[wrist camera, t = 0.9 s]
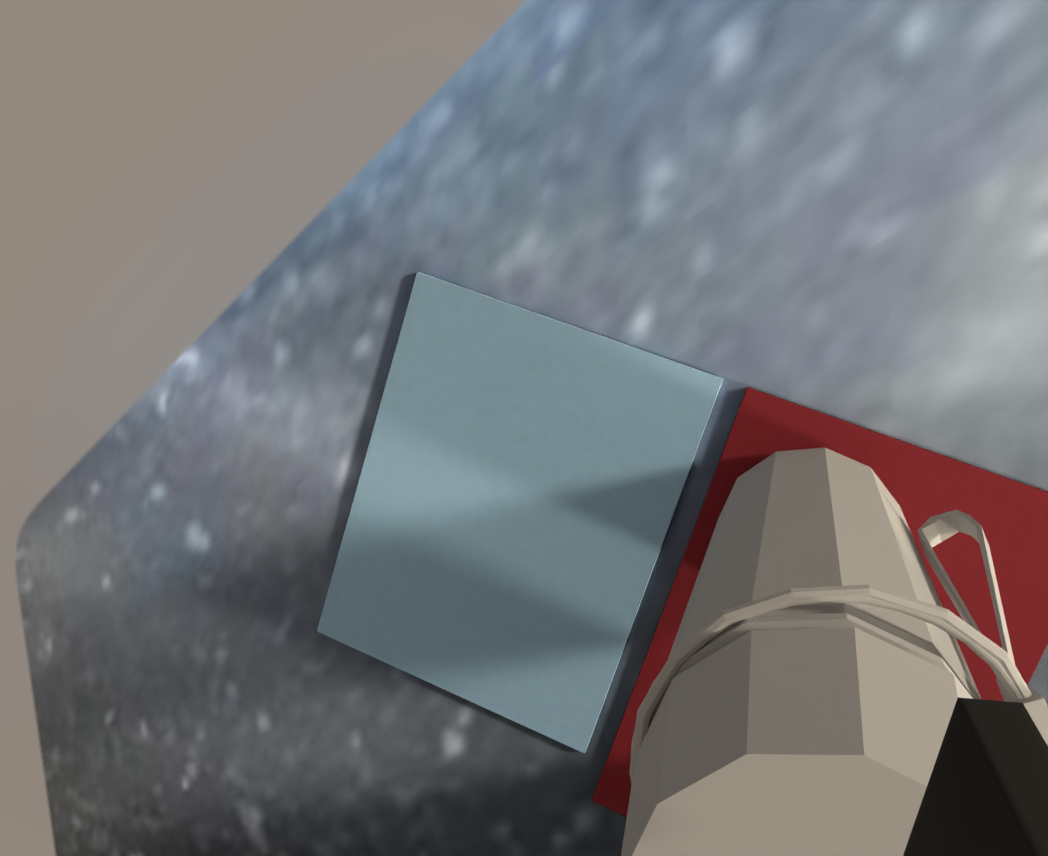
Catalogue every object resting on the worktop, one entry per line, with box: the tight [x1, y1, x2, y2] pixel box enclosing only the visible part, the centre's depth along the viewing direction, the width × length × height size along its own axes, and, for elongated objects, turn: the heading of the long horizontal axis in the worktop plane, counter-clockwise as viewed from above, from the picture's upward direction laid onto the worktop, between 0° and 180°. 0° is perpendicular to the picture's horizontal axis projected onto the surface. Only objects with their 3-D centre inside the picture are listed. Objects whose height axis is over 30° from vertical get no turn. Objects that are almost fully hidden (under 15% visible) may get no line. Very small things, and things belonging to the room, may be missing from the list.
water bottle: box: [621, 447, 1048, 856], centre depth 26 cm, size 9×8×25 cm
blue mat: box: [317, 272, 723, 754], centre depth 42 cm, size 18×14×1 cm
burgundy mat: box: [592, 387, 1048, 817], centre depth 39 cm, size 20×14×1 cm
